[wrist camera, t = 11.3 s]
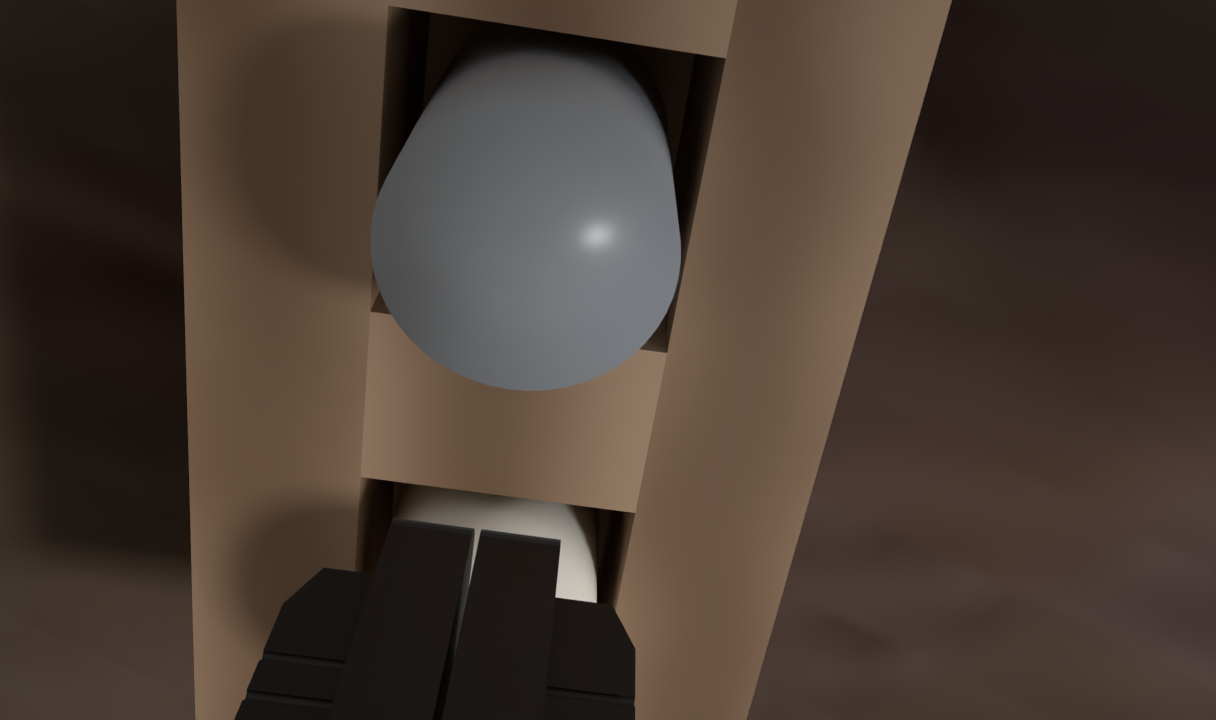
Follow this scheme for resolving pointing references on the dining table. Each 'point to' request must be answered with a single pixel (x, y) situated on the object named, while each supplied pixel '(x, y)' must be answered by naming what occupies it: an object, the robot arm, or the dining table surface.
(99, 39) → the dining table surface
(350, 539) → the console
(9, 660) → the dining table surface
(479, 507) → the white egg
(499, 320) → the grey rounded cylinder
